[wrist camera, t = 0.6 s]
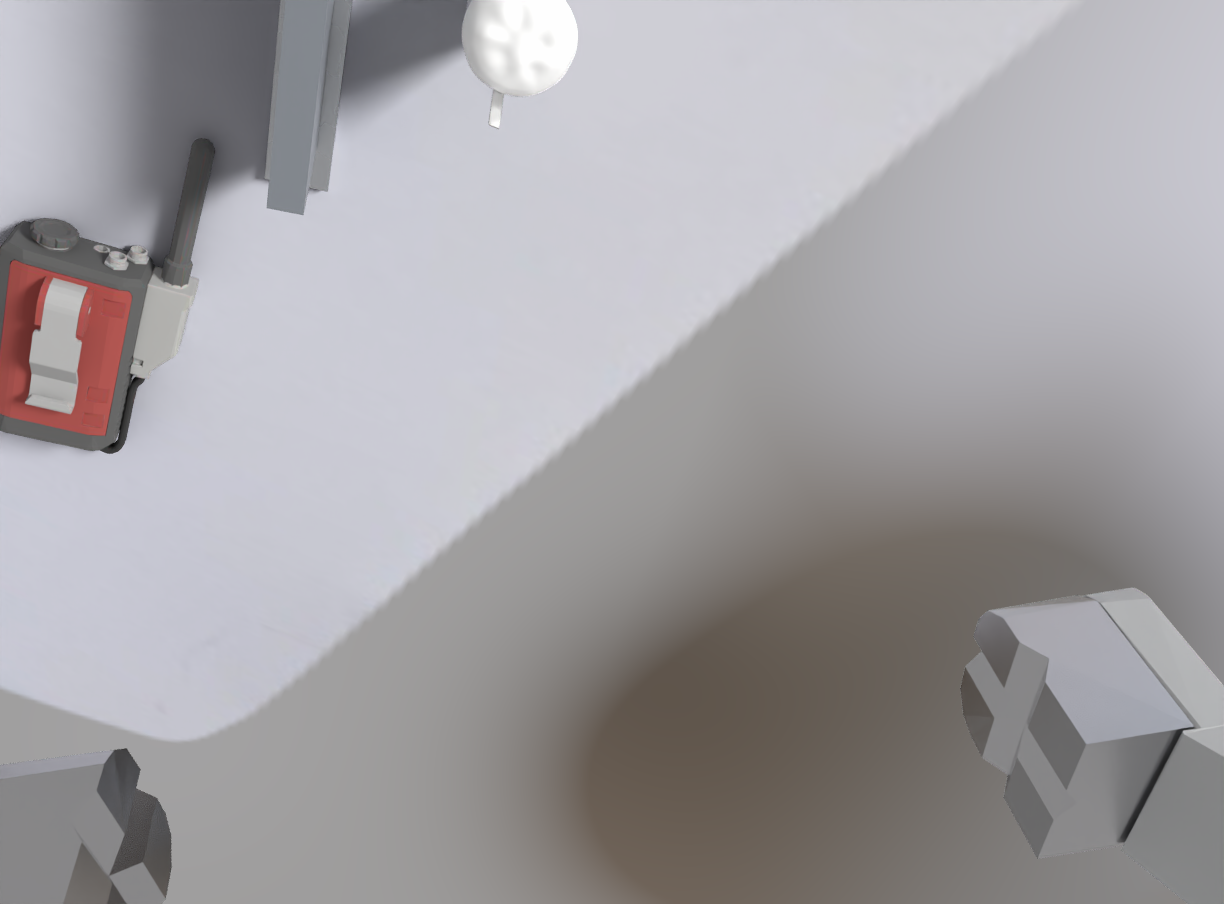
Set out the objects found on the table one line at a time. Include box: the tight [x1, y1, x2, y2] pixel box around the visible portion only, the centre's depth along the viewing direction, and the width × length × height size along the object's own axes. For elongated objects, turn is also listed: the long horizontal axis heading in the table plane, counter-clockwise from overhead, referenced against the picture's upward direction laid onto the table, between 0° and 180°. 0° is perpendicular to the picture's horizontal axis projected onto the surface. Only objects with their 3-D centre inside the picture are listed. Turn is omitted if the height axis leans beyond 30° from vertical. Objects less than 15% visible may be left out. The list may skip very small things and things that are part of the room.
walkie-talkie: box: [0, 138, 215, 454], centre depth 49 cm, size 9×4×20 cm
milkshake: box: [462, 0, 578, 129], centre depth 41 cm, size 5×5×10 cm
